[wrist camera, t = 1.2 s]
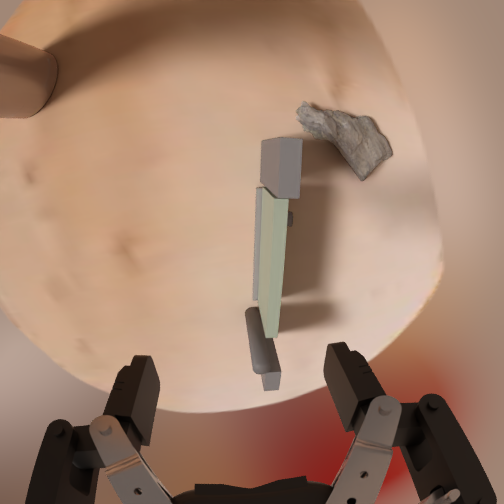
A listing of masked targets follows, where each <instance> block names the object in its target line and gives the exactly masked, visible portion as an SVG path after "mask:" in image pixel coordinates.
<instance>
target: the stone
mask: <svg viewBox="0 0 504 504" xmlns="http://www.w3.org/2000/svg"><path fill="white" fill-rule="evenodd" d="M296 113H298V115H297V116H296V120H298V121H299V122H300V123H301V124H302V125H303V129H304V131H306V132H310V133H312V135H313V137H314V138H315V139H320V140H325V139H326V140H329V141H331V142H332V143H333V144H334V145H335V147H336V148H337V149H338V150H339V151H340V153H341V155H342V156H343V157H344V158H345V159H346V161H347V162H348V163H349V165H350V166H351V167H352V169H353V170H354V172H355V173H356V175H357V176H358V178H359V179H360V181H364V180H365V179H366V177H367V176H368V174H369V173H370V172H371V171H372V170H373V169H374V168H375V167H376V166H377V165H378V164H379V163H380V162H381V160H386V159H388V158H389V157H391V156H392V151H391V148H390V147H389V145H388V141H387V140H386V139H385V137H384V136H383V135H381V134H380V133H379V132H377V129H376V127H375V125H374V123H373V122H372V120H371V119H370V118H369V117H367V116H357V117H356V118H354V117H350V116H349V115H348V114H346V113H344V112H341V111H331V110H326V111H322V110H320V111H318V110H316V109H315V108H313V107H310V106H309V104H308V103H307V102H304V101H302V103H301V107H299V108H298V109H297V110H296Z"/></svg>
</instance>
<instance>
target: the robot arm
mask: <svg viewBox="0 0 504 504" xmlns="http://www.w3.org/2000/svg"><path fill="white" fill-rule="evenodd" d="M57 71H58V67H57V62H56V60H55V58H54V56H53V55H52V54H50V53H48V52H45V51H43V50H40V49H38V48H36V47H34V46H31V45H28V44H26V43H23V42H21V41H18V40H15V39H12V38H10V37H7V36H4V35H1V34H0V118H28V117H31V116H32V115H34V114H36V113H37V112H38V111H39V110H40V109H41V108H42V107H43V106H44V104H45V103H46V102H47V100H48V99H49V97H50V95H51V93H52V91H53V89H54V86H55V83H56V79H57ZM324 378H325V381H326V383H327V386H328V388H329V391H330V393H331V396H332V398H333V401H334V403H335V406H336V408H337V411H338V413H339V416H340V419H341V421H342V424H343V426H344V429H345V431H346V432H349V431H353V430H354V432H355V435H356V436H355V438H354V440H353V443H352V445H351V447H350V449H349V451H348V454H347V456H346V458H345V460H344V462H343V464H342V466H341V468H340V470H339V472H338V474H337V476H336V477H335V479H334V481H333V483H332V485H331V486H330V485H327V484H324V483H320V482H313V481H307V479H306V476H301V477H295V478H289V479H282V480H277V481H275V482H271V483H268V484H265V485H262V486H259V487H255V488H251V489H250V488H249V489H248V488H241V487H235V486H229V485H224V484H195V489H194V490H190V491H186V492H183V493H181V494H179V495H177V496H175V497H173V496H172V495H171V494H170V493H169V491H168V490H167V489H166V488H165V487H164V485H163V484H162V483H161V482H160V480H159V479H158V478H157V476H156V475H155V474H154V472H153V471H152V469H151V468H150V466H149V465H148V464H147V462H146V461H145V459H144V458H143V456H142V455H141V453H140V449H141V445H144V446H149V444H150V438H151V433H152V427H153V422H154V416H155V411H156V406H157V401H158V397H159V392H160V381H159V377H158V374H157V371H156V368H155V365H154V362H153V359H152V357H151V356H145V355H135V356H134V357H133V360H132V362H131V365H130V366H124V367H123V368H122V369H121V370H120V371H119V372H118V374H117V377H116V380H115V383H114V385H113V390H111V393H110V396H109V399H108V401H107V404H106V407H105V410H104V413H103V415H102V416H99V417H97V418H95V419H94V420H93V421H92V422H91V424H90V425H86V426H76V427H72V425H71V424H70V423H69V422H68V421H66V420H62V419H58V420H55V421H53V422H52V423H50V424H49V426H48V427H47V430H46V433H45V436H44V439H43V441H42V444H41V447H40V450H39V453H38V456H37V459H36V463H35V466H34V470H33V473H32V477H31V481H30V484H29V489H28V493H27V497H26V501H25V504H94V502H95V494H96V487H97V481H98V475H99V469H100V468H106V469H107V470H106V475H107V477H108V479H109V481H110V483H111V484H112V486H113V488H114V490H115V491H116V493H117V495H118V496H119V498H120V500H121V501H122V503H123V504H374V503H375V500H376V498H377V495H378V493H379V491H380V488H381V486H382V483H383V480H384V478H385V475H386V472H387V470H388V467H389V464H390V460H391V458H392V454H393V450H392V449H391V448H392V447H396V446H399V447H400V449H401V452H402V454H403V457H404V459H405V462H406V464H407V467H408V469H409V472H410V474H411V477H412V479H413V482H414V485H415V488H416V490H417V493H418V496H419V498H420V501H421V502H420V503H419V504H496V502H497V499H496V495H495V493H494V490H493V488H492V486H491V484H490V482H489V479H488V477H487V475H486V473H485V471H484V469H483V467H482V465H481V463H480V461H479V459H478V457H477V455H476V454H475V452H474V450H473V448H472V446H471V445H470V442H469V441H468V439H467V437H466V435H465V433H464V432H463V430H462V428H461V426H460V425H459V423H458V422H457V420H456V418H455V416H454V415H453V413H452V411H451V410H450V408H449V406H448V405H447V403H446V401H445V400H444V399H443V398H442V397H441V396H439V395H437V394H427V395H424V396H423V397H422V398H421V399H420V401H419V402H418V403H399V401H398V400H397V399H395V398H393V397H391V396H387V395H386V394H385V392H384V390H383V388H382V387H381V385H380V383H379V381H378V380H377V378H376V376H375V375H374V373H373V372H372V369H371V368H370V366H368V363H367V361H366V359H365V358H364V356H363V355H361V354H360V353H359V352H357V351H356V350H354V351H350V350H349V348H348V346H347V344H346V343H345V342H338V343H332V344H328V346H327V351H326V357H325V363H324Z"/></svg>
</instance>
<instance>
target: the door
mask: <svg viewBox="0 0 504 504" xmlns="http://www.w3.org/2000/svg"><path fill="white" fill-rule="evenodd" d="M288 202H289V199H288V198H277V197H276V196H275V195H274V194H273V193H272V192H271V191H270V190H269V189H268V188H267V187H263V189H262V215H261V241H260V265H259V288H258V306H259V310H260V314H261V319H262V323H263V328H264V332H265V337H266V338H277V337H278V327H279V317H280V306H281V295H282V284H283V272H284V260H285V247H286V233H287V226H292V223H293V215H292V212H288Z"/></svg>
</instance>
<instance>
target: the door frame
mask: <svg viewBox="0 0 504 504" xmlns="http://www.w3.org/2000/svg"><path fill="white" fill-rule="evenodd" d="M302 141H303V139H298V138H284V137H279V138H274V139H268V140H263V141H262V143H261V174H260V182H261V183H262V184H264V185H265V186H266V187H267V188H268V189H269V190H270V191H271V192H272V193H273V194H274V195H275V196H276V197H277V198H293V199H299V197H300V181H301V163H302ZM262 189H263V188H256V212H255V243H254V273H253V300H258V288H259V265H260V241H261V215H262ZM245 317H246V324H247V331H248V338H249V345H250V352H251V359H252V366H253V371H254V372H255V373H256V374H261V377H262V382H263V388H264V391H272V390H279V385H280V378H281V368H280V364H279V360H278V356H277V353H276V349H275V345H274V341H273V338H266V337H265V332H264V328H263V323H262V319H261V317H260V314H259V310H258V309H257V308H254V307H251V308H248V309H247V310H246V312H245Z"/></svg>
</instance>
